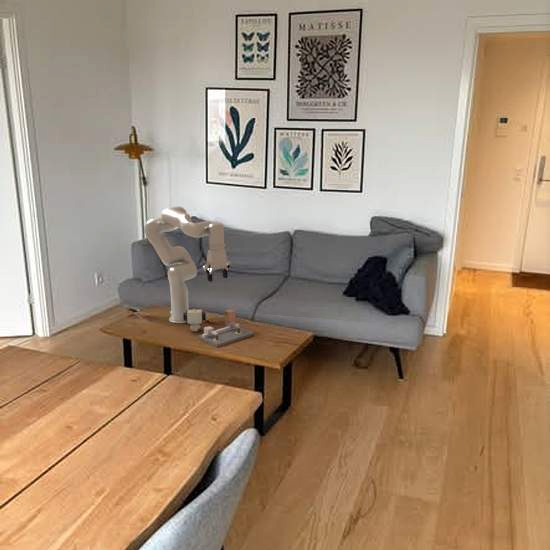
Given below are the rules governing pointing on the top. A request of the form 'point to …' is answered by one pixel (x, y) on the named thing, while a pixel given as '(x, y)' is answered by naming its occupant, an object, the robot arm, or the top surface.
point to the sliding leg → (231, 319)
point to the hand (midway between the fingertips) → (217, 279)
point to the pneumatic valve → (194, 318)
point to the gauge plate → (224, 335)
